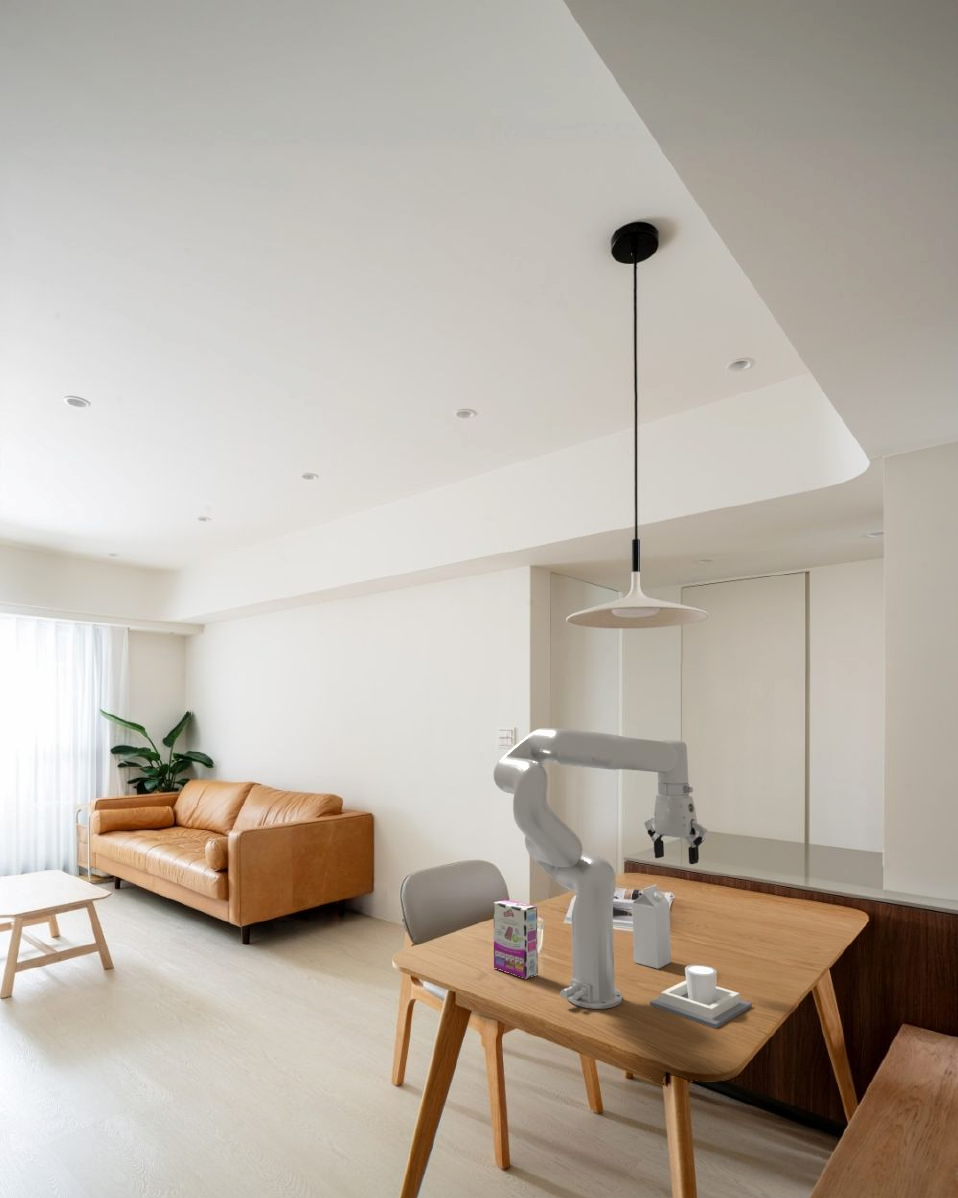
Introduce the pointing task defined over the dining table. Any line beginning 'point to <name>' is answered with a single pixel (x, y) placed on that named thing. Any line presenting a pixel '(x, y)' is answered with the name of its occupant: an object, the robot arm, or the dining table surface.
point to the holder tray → (701, 1005)
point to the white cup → (701, 983)
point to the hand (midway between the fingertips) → (676, 860)
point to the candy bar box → (515, 938)
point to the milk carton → (651, 929)
